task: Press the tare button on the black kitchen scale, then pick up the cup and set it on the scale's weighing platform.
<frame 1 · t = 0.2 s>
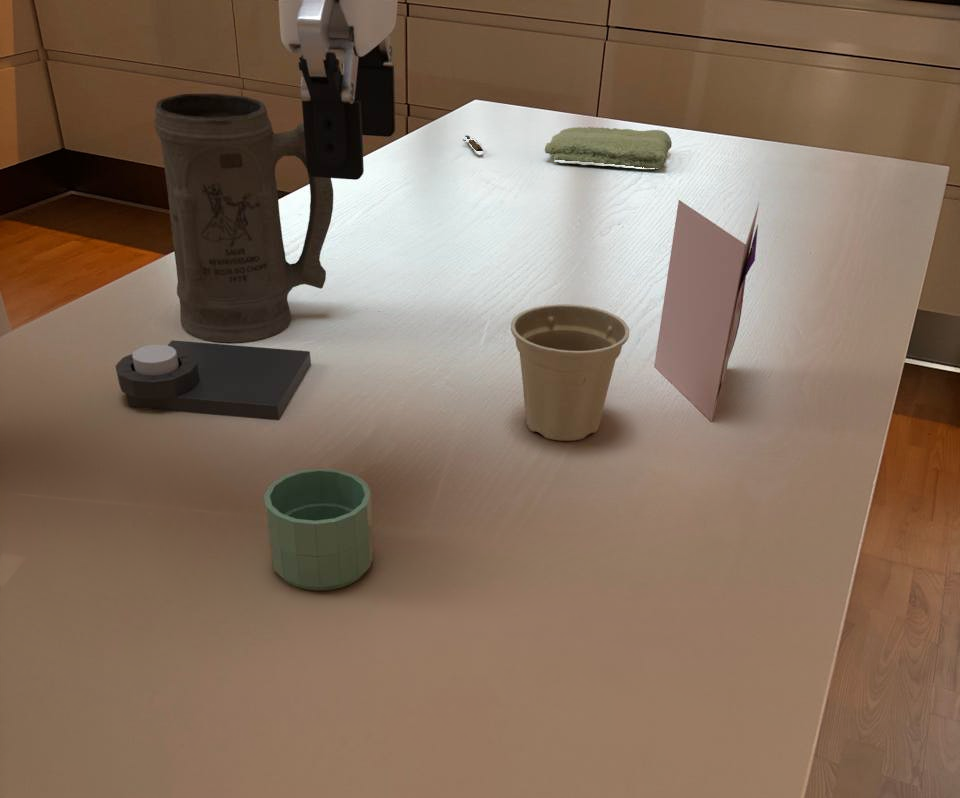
hand: (354, 154, 63), 24 cm above the counter, tool pointing down, fingers open, 9 cm apart
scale: (223, 386, 90), on the counter
flower pot: (561, 427, 87), on the counter
washcloth: (608, 159, 152), on the counter
greeting card: (687, 390, 93), on the counter
beer stein: (261, 321, 102), on the counter
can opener: (474, 149, 153), on the counter
cup: (323, 563, 70), on the counter
tare button: (155, 360, 86), point 3 cm above the counter, slide at 0.1 cm
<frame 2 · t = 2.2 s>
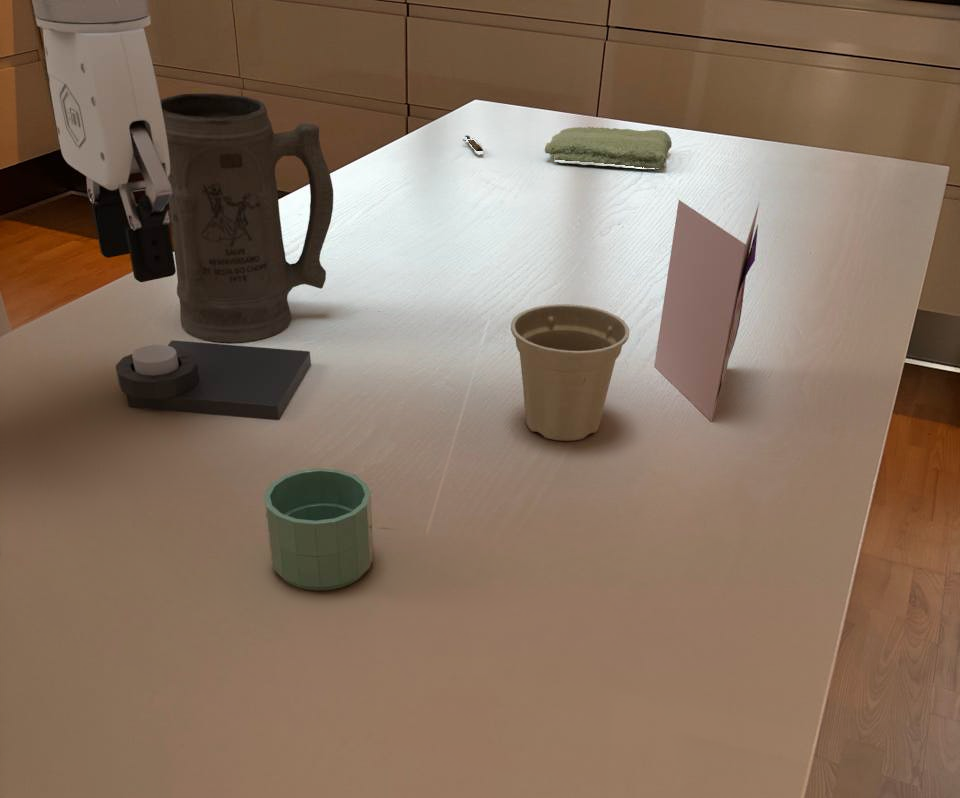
hand: (138, 263, 81), 12 cm above the counter, tool pointing down, fingers open, 5 cm apart
nothing on the counter moved.
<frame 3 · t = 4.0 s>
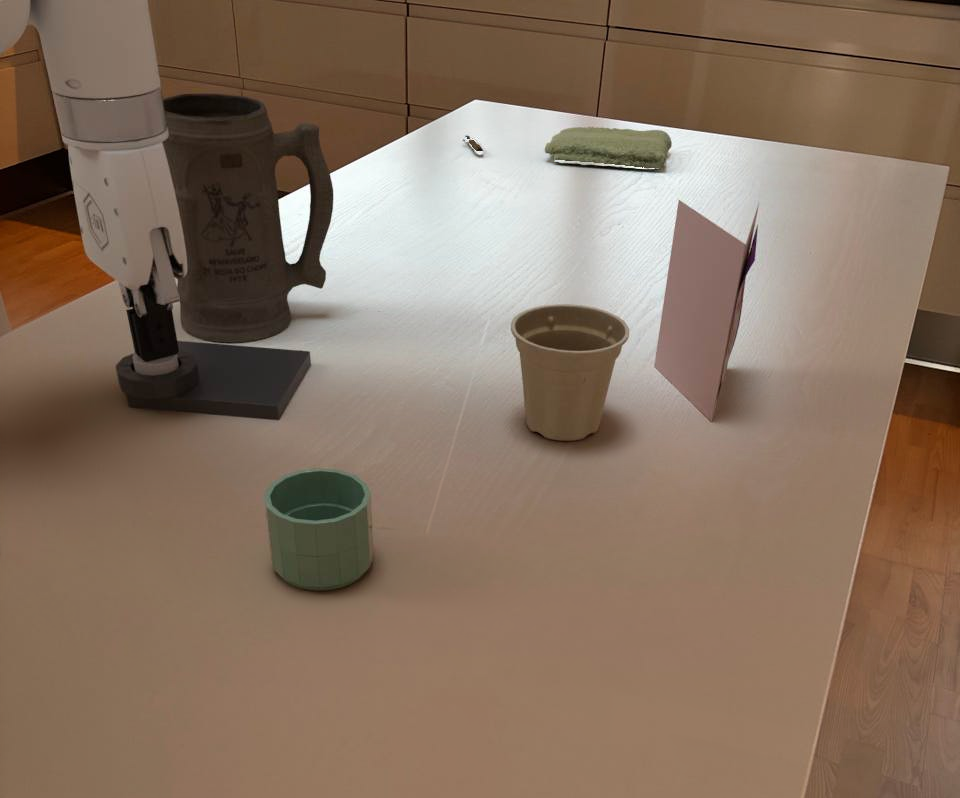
hand: (157, 354, 86), 4 cm above the counter, tool pointing down, fingers closed
tare button: (156, 362, 86), point 3 cm above the counter, slide at -0.1 cm, touching gripper
everything else where it was.
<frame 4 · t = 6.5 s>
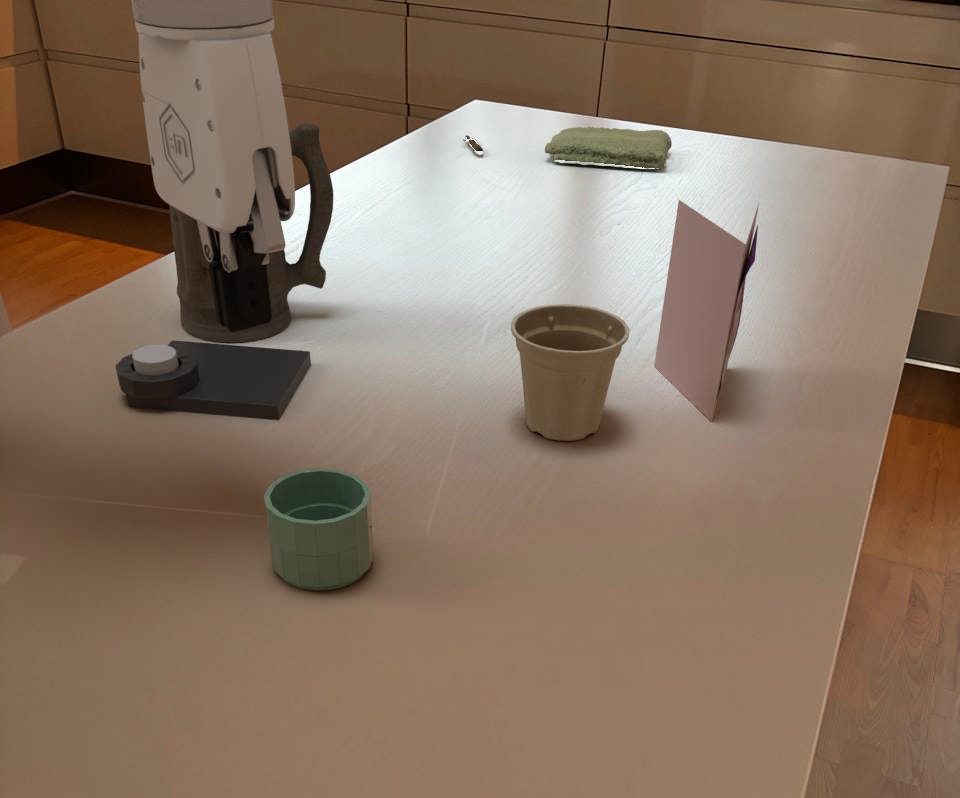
hand: (245, 323, 68), 14 cm above the counter, tool pointing down, fingers closed
tare button: (155, 360, 86), point 3 cm above the counter, slide at 0.1 cm
everything else where it was.
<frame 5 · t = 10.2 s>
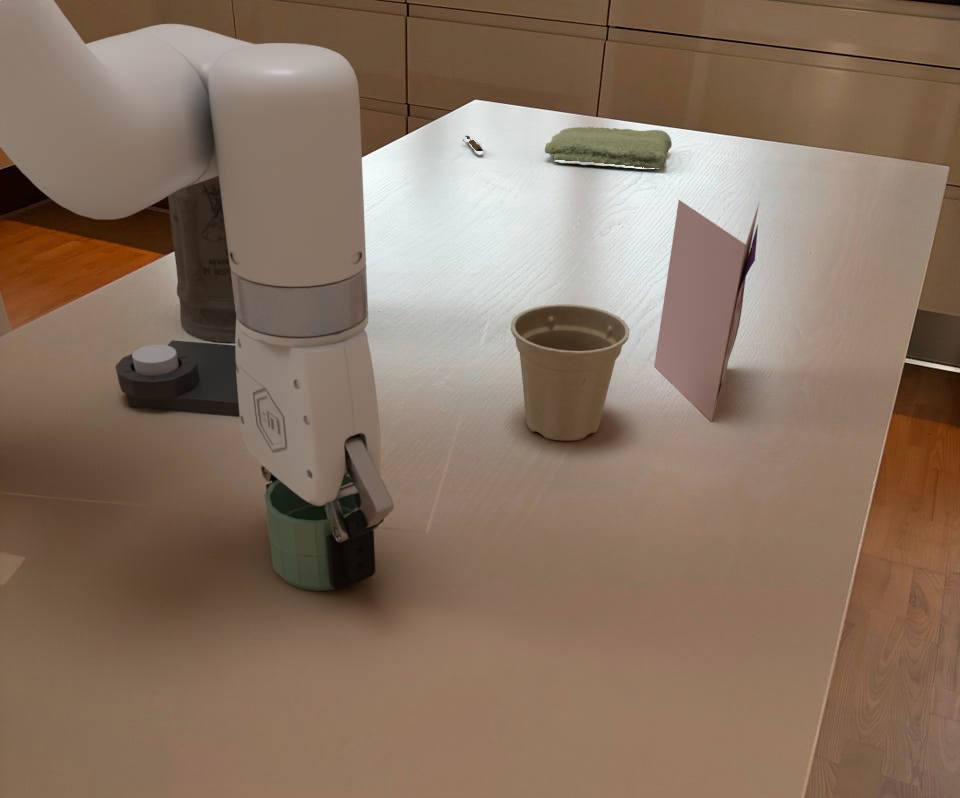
hand: (322, 552, 70), 1 cm above the counter, tool pointing down, fingers closed on cup, 6 cm apart
cup: (323, 563, 70), on the counter, touching gripper
everything else where it was.
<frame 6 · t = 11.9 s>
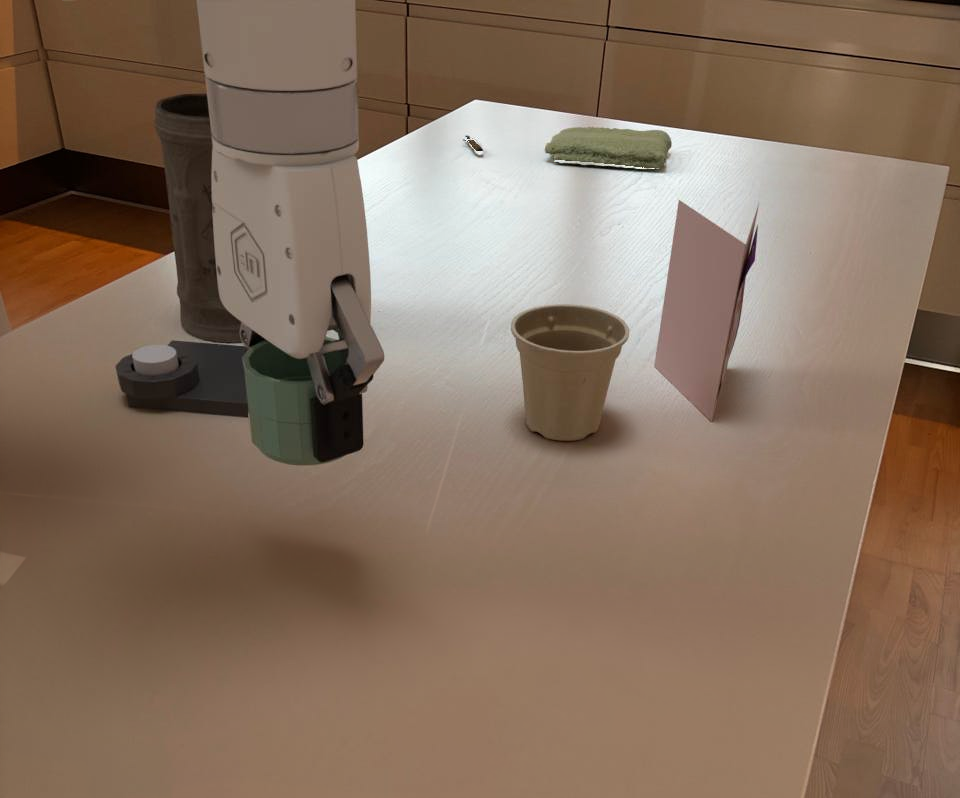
hand: (305, 426, 64), 10 cm above the counter, tool pointing down, fingers closed on cup, 6 cm apart
cup: (306, 440, 64), point 9 cm above the counter, touching gripper
everything else where it was.
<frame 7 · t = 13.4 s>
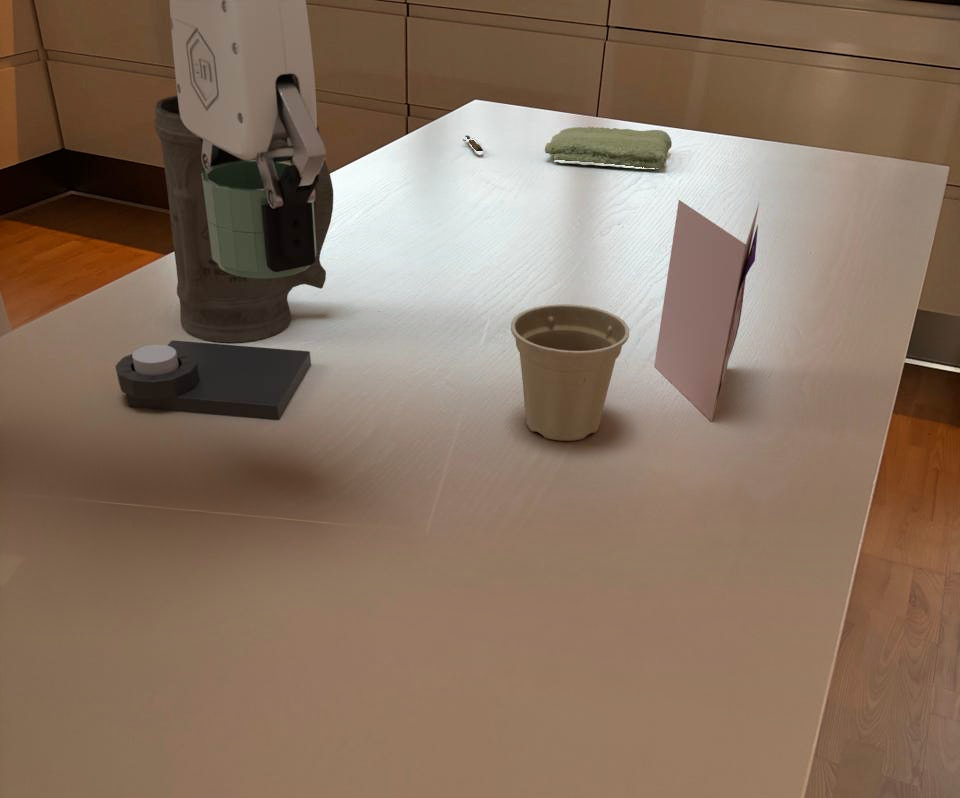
hand: (263, 247, 68), 17 cm above the counter, tool pointing down, fingers closed on cup, 6 cm apart
cup: (265, 261, 68), point 16 cm above the counter, touching gripper
everything else where it was.
when the fingers open (2 cm above the counter, at t = 18.8 s): cup stays where it is, resting on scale.
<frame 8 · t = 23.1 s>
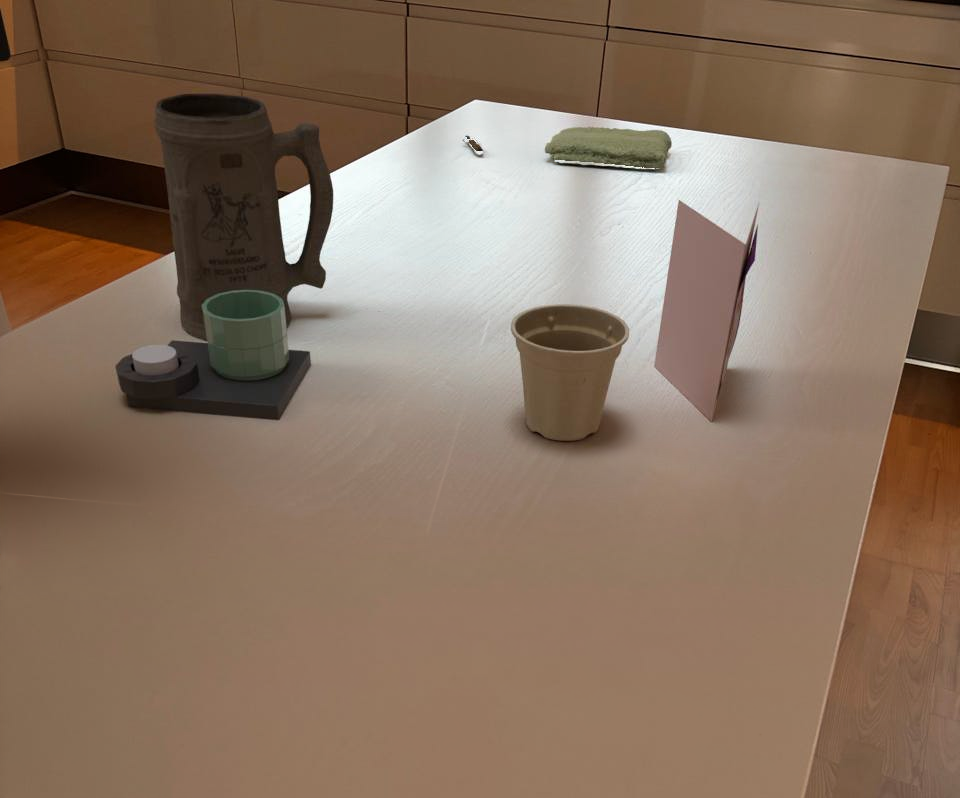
cup: (250, 365, 91), point 1 cm above the counter, touching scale
everything else where it was.
at the end: tare button pushed in 0.9 cm at the most during the clip, back to where it started at the end; cup inside the target area on the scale (2.6 cm from its centre), point 1.4 cm above the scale's base; cup tilted 0° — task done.
